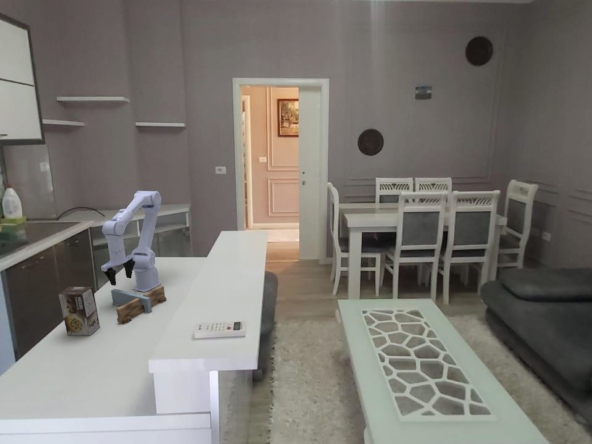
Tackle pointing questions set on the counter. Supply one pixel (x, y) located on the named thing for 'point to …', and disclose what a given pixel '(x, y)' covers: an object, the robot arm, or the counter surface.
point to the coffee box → (79, 310)
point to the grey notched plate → (130, 299)
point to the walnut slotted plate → (139, 305)
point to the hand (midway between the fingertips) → (121, 281)
